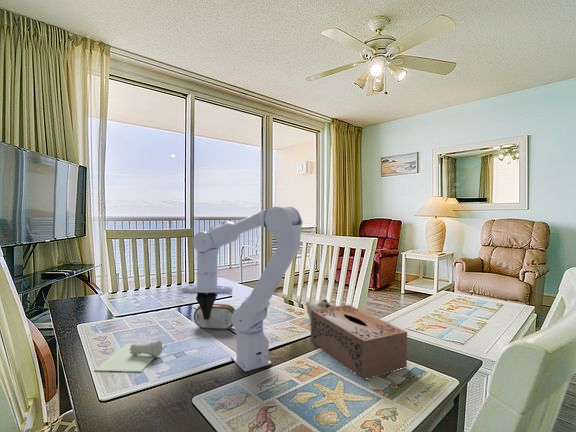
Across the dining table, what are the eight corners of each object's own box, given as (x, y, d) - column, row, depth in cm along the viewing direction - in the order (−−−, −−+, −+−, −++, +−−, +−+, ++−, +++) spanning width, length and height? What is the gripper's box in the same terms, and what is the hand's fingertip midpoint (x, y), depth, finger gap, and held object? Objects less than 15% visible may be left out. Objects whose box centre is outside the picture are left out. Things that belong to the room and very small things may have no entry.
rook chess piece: (164, 345, 92) (138, 346, 93) (159, 336, 90) (132, 337, 91) (158, 360, 89) (131, 361, 90) (153, 351, 86) (125, 352, 87)
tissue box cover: (310, 341, 102) (311, 310, 102) (347, 333, 108) (348, 304, 108) (363, 381, 79) (363, 341, 79) (406, 369, 85) (407, 331, 85)
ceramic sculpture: (307, 293, 125) (346, 297, 123) (306, 315, 125) (345, 320, 123) (306, 302, 114) (348, 306, 112) (304, 326, 114) (346, 331, 113)
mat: (166, 345, 97) (166, 344, 97) (141, 372, 81) (141, 371, 81) (127, 344, 98) (127, 343, 98) (94, 371, 82) (94, 370, 82)
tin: (237, 327, 112) (237, 304, 112) (235, 331, 109) (235, 306, 109) (195, 325, 114) (196, 302, 113) (192, 329, 110) (192, 304, 110)
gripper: (234, 270, 98) (234, 314, 98) (187, 269, 98) (187, 313, 98) (229, 275, 91) (229, 322, 91) (178, 274, 91) (178, 321, 91)
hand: (207, 318), depth 94 cm, fingers closed
